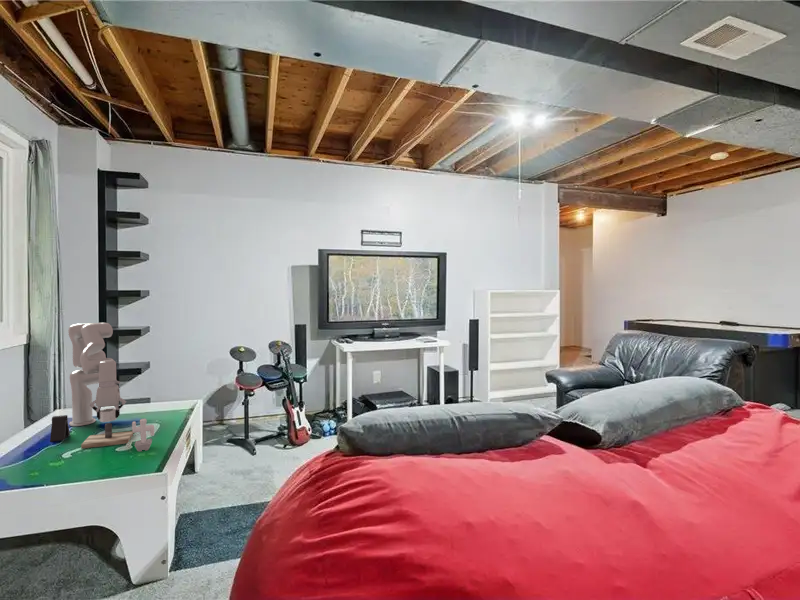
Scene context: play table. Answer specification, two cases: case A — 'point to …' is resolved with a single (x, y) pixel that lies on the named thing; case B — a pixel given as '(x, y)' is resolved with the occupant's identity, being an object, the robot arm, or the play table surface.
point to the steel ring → (107, 415)
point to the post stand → (107, 438)
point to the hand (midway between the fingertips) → (108, 417)
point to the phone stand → (59, 428)
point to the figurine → (143, 435)
